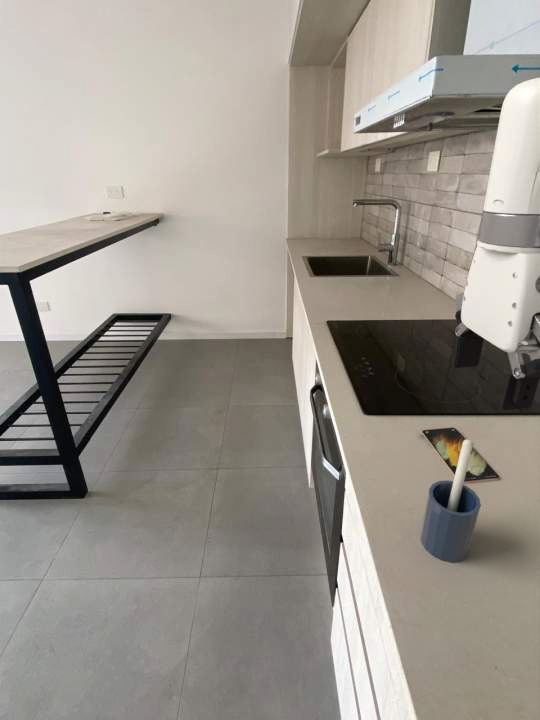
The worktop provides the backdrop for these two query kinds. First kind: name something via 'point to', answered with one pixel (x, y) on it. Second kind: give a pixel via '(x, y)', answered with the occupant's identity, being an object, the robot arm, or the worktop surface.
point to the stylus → (460, 475)
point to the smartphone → (449, 450)
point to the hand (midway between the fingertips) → (487, 384)
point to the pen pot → (449, 522)
